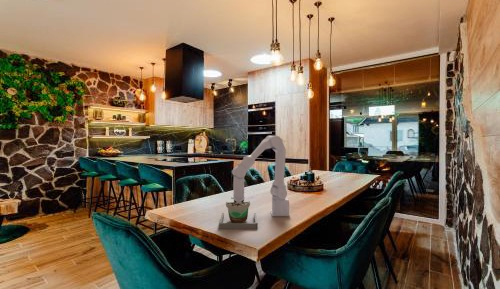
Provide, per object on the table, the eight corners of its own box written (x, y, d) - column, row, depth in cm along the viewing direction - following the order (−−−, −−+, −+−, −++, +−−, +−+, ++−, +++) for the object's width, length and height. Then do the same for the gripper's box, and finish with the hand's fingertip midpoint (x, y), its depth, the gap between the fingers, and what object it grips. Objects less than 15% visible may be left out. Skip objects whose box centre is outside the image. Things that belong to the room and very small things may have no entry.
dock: (255, 217, 137) (255, 212, 137) (257, 228, 120) (257, 223, 120) (222, 217, 137) (222, 213, 136) (219, 229, 120) (219, 223, 119)
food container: (225, 225, 126) (225, 207, 123) (226, 217, 132) (225, 200, 129) (250, 224, 127) (250, 207, 123) (250, 217, 132) (250, 200, 129)
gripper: (231, 186, 142) (231, 210, 143) (230, 192, 128) (230, 219, 128) (244, 186, 142) (244, 210, 143) (244, 192, 128) (244, 219, 128)
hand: (238, 214), depth 135 cm, fingers open, 6 cm apart
